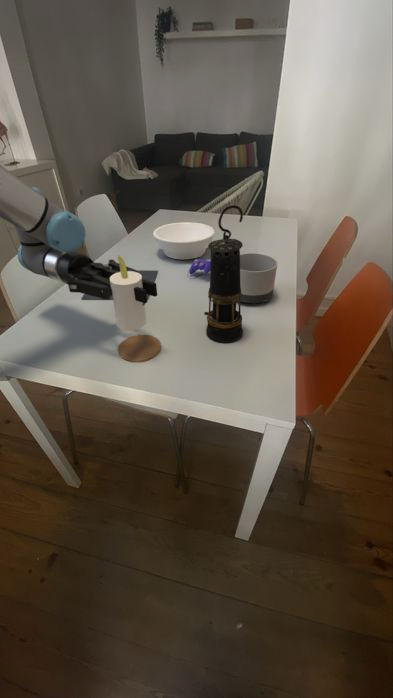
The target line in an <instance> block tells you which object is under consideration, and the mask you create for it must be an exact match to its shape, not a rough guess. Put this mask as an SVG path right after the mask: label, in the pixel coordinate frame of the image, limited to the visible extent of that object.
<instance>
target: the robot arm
mask: <svg viewBox="0 0 393 698" xmlns="http://www.w3.org/2000/svg"><path fill="white" fill-rule="evenodd" d="M0 218H1V219H3V221H6V222H8V223H10V224H11V225H13V226H14V229H15V232H16V234H17V237H18V239H19V242H20V245H19V247H18V249H17V260H18V262H19V264H20V265H21V266H22V267H23V268H24V269H26V270H27V271H29V272H31V273H33V274H34V275H39V276H43V277H47V278H49V279H51V280H54V281H55V280H56V281H58V282H61V283H64V284H65V285H67V286H68V289H69V292H70V293H80V294H83V295H84V294H87V295H91V296H95V297H99V298H103V299H110V296H112V295H113V294H112V289H111V285H110V277H111V276H112V275H113V274H115V273H118V272H121V271H120V265H119V262H116V260H115V259H108V262H107V263H106V264H103V263H101V262H95V261H93V260H92V259H91V258H90V256H88V255H87V254H83V253H80V252H76V251H78V250H79V249H81V247H82V246H83V244H84V242H85V239H86V227H85V225H84V223H83V221H82V219H80V218H79V217H78V216H77V215H75V214H74V213H72V212H71V211H69V210H65V209H63V208H61V207H60V206H58V205H57V204H56V203H55V202H53V201H51V200H50V199H48V198H47V197H45V196H44V195H43V193H42V191H41V190H40V189H39V188H38V187H36V186H30V185H29V184H27V183H26V182H24V181H23V180H22V179H20V178H19V177H17V176H16V175H15V174H14V173H12V172H10V171H9V170H8V169H7V168H5V167H3V166H2V165H1V164H0ZM126 269H127V271H133V272H137V269H135V268H132V267H129V266H127V265H126ZM142 283H143V289H142V288H139V287H135V288H134V294H135V300H136V301H139V302H142V303H145V304H147V303H148V300H147V294H148V295H150V296H151V297H154V298H156V297H157V296H158V287H157V283H156V282H155V281H154V282H150V281H147V280H145V279H142ZM102 291H103V293H102Z"/></svg>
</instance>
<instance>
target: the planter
mask: <svg viewBox="0 0 393 698" xmlns="http://www.w3.org/2000/svg"><path fill="white" fill-rule="evenodd" d="M277 269H278V261H277V260H276V258H274V257H272V256H270V255H267V254H263V253H257V252H256V253H255V252H253V253H252V252H250V253H249V252H248V253H247V252H246V253H240V288H241V299H240V302H242V303H247V304H258V303H263V302H267V301H268V300H270V299H271V298H272V297H273V295H274V290H275V282H276V278H277V277H276V276H277Z"/></svg>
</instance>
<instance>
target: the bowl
mask: <svg viewBox="0 0 393 698" xmlns="http://www.w3.org/2000/svg"><path fill="white" fill-rule="evenodd" d="M152 233H153V234H152V235H153V237H154V240H155V241H156V244H157V246H158V247H159V248H160V249H161V250H163V253H164V255H165V256H167V257H168V258H170V259H175V260H192V259H198V258H200V257H202V256H203V255H204V254H205V253H206V250H207V248H209V247H208V245H209V244H210V243H211V242H213V240H214V237H215V236H214V235H215V233H216V230H215V228H213V227H212V226H210V225H208V224H205V223H200V222H191V221H190V222H189V221H181V222H172V223H167V224H164V225H160V226H159V227H156V228H155V229H154V231H153V232H152Z"/></svg>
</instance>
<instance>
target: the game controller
mask: <svg viewBox="0 0 393 698" xmlns="http://www.w3.org/2000/svg"><path fill="white" fill-rule="evenodd" d="M210 266H211V258H207V259H206V258H205V259H198V258H195V259H194V261H193V262H192V264H191V265H190V267H189V269H188V271H187V274H189V275H194V274H195V273H196V272H197V271H203V273H201V274H200V275H198V276H196V277H193V278H192V280H194V279H196V278H199V277H201V276H202V275H208V274H210ZM187 277H188V279H189V280H191V278H190V277H189V276H187Z"/></svg>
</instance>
